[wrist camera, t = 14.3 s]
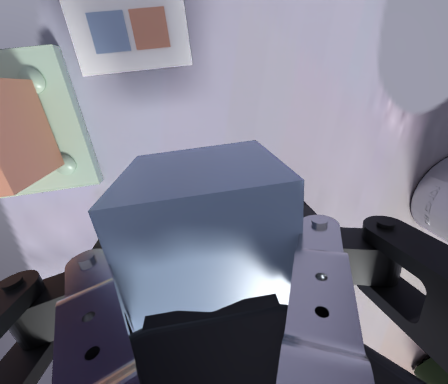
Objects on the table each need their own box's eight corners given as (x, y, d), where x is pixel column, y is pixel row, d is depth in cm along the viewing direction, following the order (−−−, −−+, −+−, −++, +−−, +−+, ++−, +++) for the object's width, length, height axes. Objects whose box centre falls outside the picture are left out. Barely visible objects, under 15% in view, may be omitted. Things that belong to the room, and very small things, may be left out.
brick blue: (255, 140, 12) (304, 179, 7) (261, 238, 15) (300, 326, 9) (137, 156, 12) (88, 211, 6) (162, 253, 14) (142, 355, 9)
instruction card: (181, -18, 16) (180, -20, 16) (192, 65, 18) (192, 64, 18) (57, -9, 16) (55, -10, 15) (84, 76, 18) (82, 76, 17)
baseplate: (59, 46, 17) (50, 43, 16) (103, 179, 21) (98, 184, 20) (-98, 61, 16) (-119, 59, 15) (-20, 197, 20) (-33, 203, 19)
